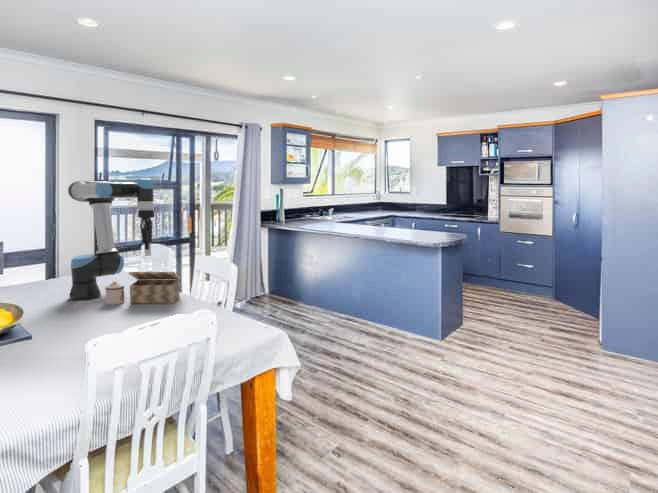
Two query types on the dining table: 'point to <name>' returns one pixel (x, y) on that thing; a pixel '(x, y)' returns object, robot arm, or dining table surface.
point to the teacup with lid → (114, 293)
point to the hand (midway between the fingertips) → (148, 255)
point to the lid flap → (154, 275)
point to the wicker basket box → (154, 291)
